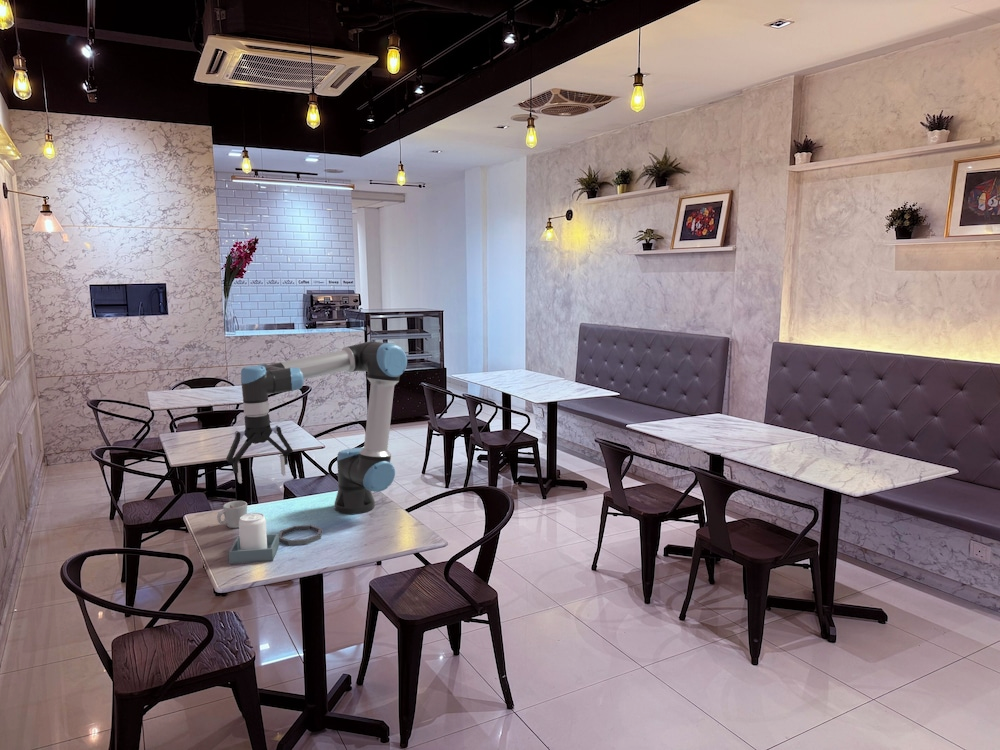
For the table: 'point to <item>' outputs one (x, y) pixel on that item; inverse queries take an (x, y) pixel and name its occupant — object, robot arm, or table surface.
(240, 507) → the cup
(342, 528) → the table surface
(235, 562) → the bin
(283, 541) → the collar
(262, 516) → the beverage can
